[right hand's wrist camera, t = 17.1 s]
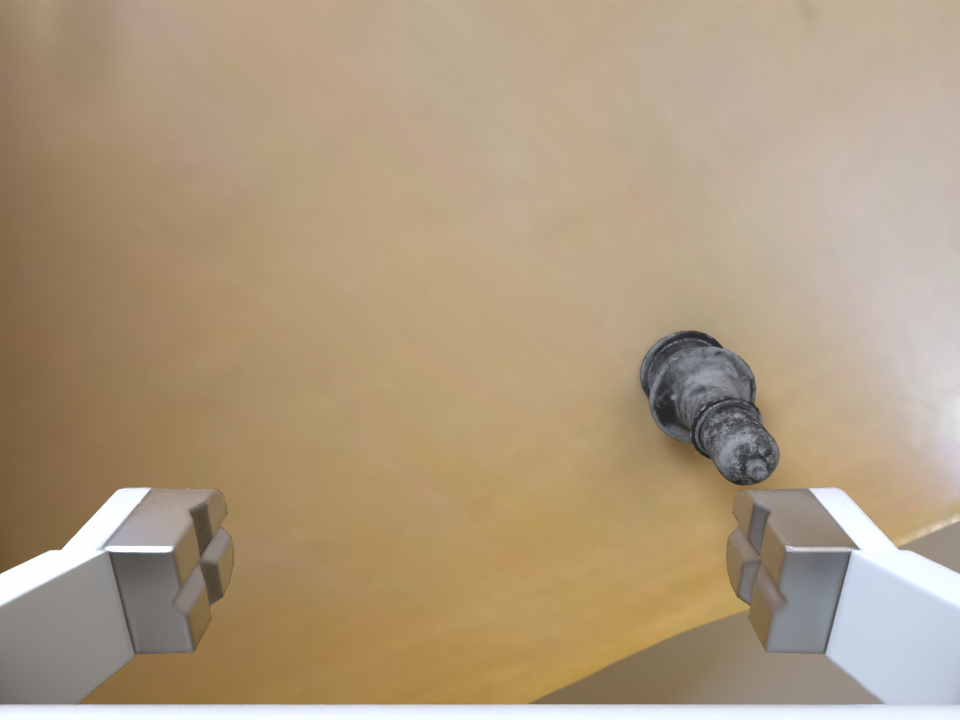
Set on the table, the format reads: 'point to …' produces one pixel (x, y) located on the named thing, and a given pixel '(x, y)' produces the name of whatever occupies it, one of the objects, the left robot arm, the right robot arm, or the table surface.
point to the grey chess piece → (709, 404)
